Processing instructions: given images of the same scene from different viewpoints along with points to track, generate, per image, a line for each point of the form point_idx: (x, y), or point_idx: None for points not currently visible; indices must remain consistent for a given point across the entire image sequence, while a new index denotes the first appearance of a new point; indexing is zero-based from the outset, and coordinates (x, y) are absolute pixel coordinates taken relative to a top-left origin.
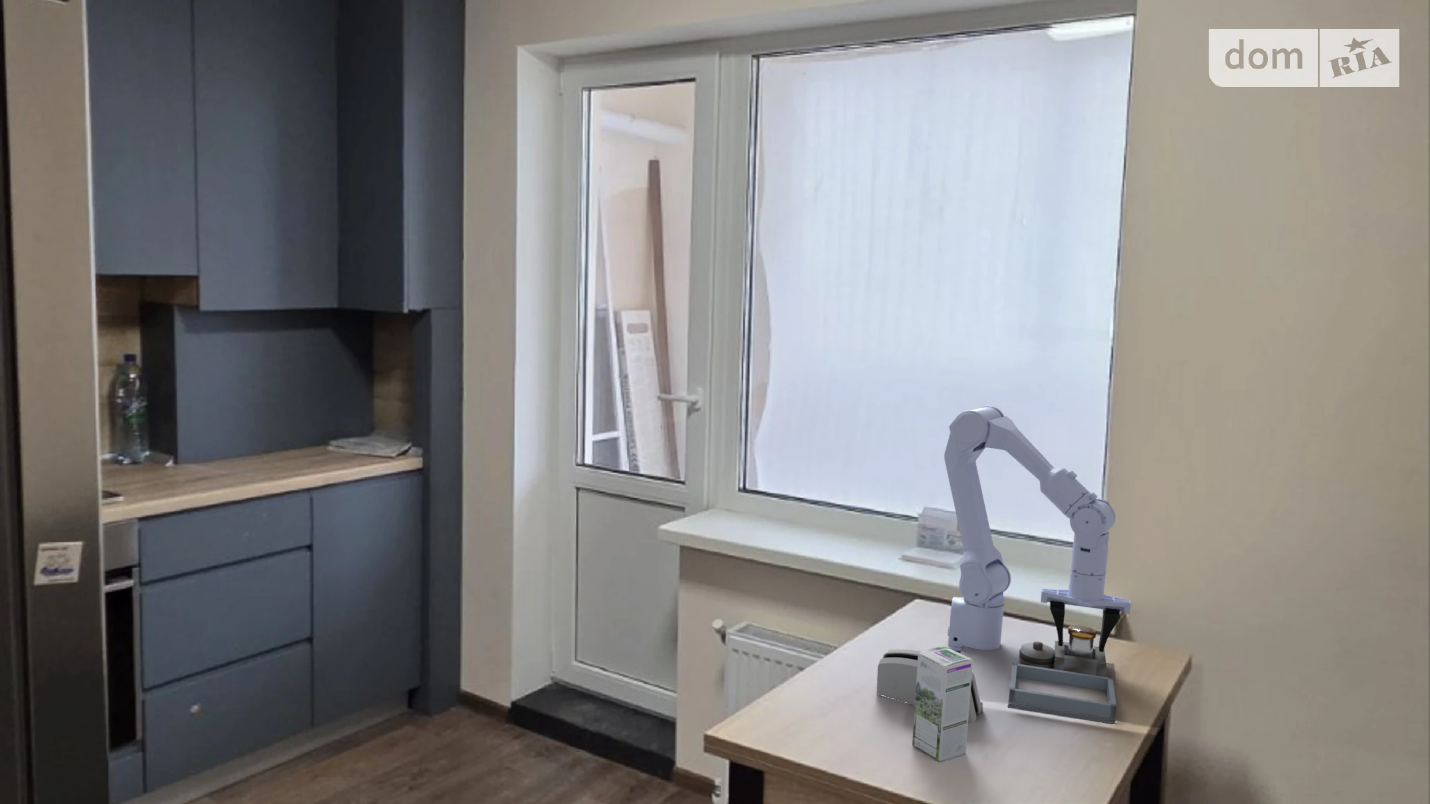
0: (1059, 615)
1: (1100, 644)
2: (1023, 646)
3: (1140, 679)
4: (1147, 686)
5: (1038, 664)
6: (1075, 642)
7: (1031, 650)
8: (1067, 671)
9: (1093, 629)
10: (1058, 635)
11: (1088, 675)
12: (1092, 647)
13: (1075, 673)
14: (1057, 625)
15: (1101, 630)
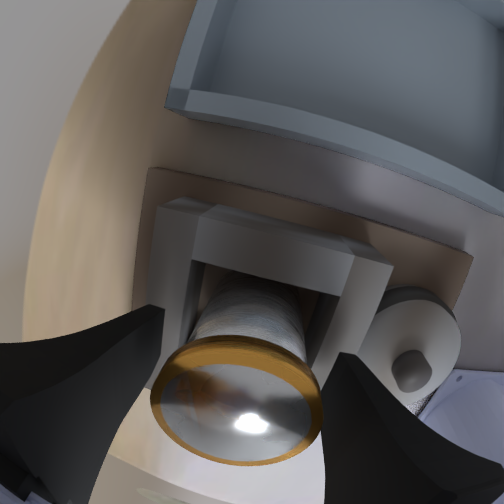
0: (450, 464)
1: (148, 320)
2: (446, 370)
3: (77, 278)
4: (67, 228)
5: (416, 287)
6: (289, 343)
7: (438, 342)
8: (361, 148)
9: (163, 424)
10: (380, 382)
11: (270, 112)
12: (192, 333)
13: (329, 128)
14: (414, 418)
15: (123, 413)
